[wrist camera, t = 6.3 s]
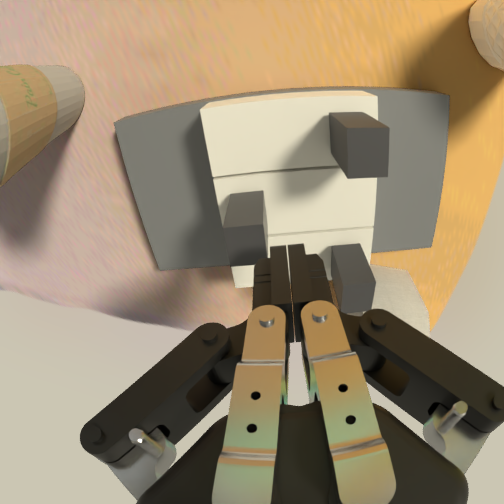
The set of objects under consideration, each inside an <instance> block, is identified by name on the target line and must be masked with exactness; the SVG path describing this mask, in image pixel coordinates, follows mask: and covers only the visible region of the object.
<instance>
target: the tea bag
mask: <svg viewBox="0 0 504 504" xmlns="http://www.w3.org/2000/svg"><path fill="white" fill-rule="evenodd" d="M370 268H371V270H372V273H373V275H374V278H375V280H376V286H375V292H374V298H373V303H372V309H377V308H378V309H384V310H387V311H389V312H390V313H392V314H393V315H395V316H397V317H398V318H400V319H401V320H403V321H404V322H406V323H408V324H409V325H411V326H412V327H414V328H415V329H417V330H418V331H420V332H422V333H423V334H425V335H426V336H428V337H429V338H430V325H429V313H428V310H427V308H426V306H425V304H424V302H423V300H422V298H421V296H420V294H419V292H418V290H417V288H416V286H415V284H414V282H413V280H412V278H411V276H410V274H409V272H408V271H407V270H403V269H397V268H391V267H385V266H379V265H374V264H370ZM365 312H366V311H365ZM365 312H357V313H348V315H354V316H362V315H363V314H364V313H365Z"/></svg>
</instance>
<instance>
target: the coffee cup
mask: <svg viewBox="0 0 504 504" xmlns="http://www.w3.org/2000/svg"><path fill="white" fill-rule="evenodd" d="M84 100H85V91H84V86H83V84H82V81H81V80H80V78H79V77H78V75H77V74H76V73H75V72H74V71H72V70H71V69H69V68H67V67H64V66H30V65H8V66H0V187H1V186H3V185H4V184H5V183H6V182H7V181H8V180H9V179H10V178H11V177H12V176H13V175H14V174H16V173H17V172H18V171H19V170H20V169H21V168H22V167H23V166H25V165H26V164H27V163H28V162H29V161H30V160H32V159H33V158H34V157H35V156H36V155H38V154H39V153H40V152H41V151H42V150H43V149H44V148H45V146H46V145H47V144H49V143H50V142H51V141H52V140H54V139H55V138H56V137H58V136H59V135H60V134H62V133H63V132H65V131H66V130H67V129H69V128H70V127H71V126H72V125H73V124H74V123H75V122H76V120H77V119H78V117H79V115H80V113H81V111H82V108H83V106H84Z"/></svg>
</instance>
